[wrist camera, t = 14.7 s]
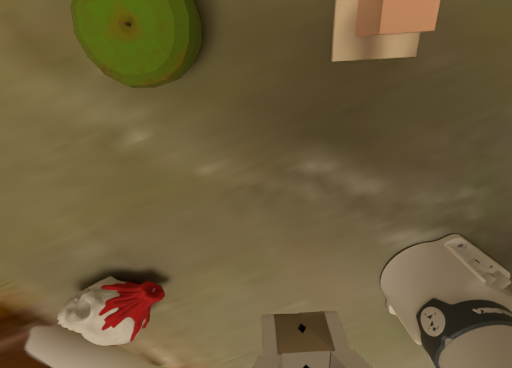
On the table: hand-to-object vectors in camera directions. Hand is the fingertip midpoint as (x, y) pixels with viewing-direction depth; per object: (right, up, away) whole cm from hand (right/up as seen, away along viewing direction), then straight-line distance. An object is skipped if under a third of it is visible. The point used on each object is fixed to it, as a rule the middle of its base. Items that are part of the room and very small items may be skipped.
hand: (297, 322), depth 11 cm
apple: (-13, +23, +21) cm, 34 cm away
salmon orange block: (+12, +25, +20) cm, 34 cm away
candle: (-24, -13, +38) cm, 47 cm away
